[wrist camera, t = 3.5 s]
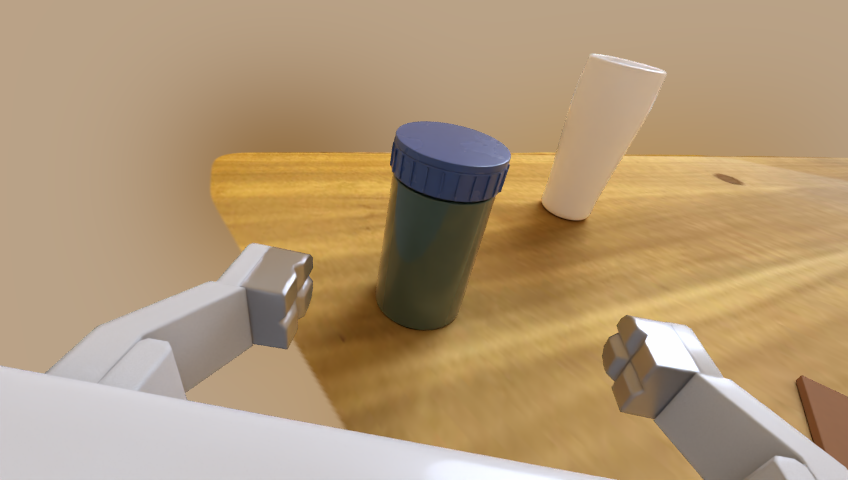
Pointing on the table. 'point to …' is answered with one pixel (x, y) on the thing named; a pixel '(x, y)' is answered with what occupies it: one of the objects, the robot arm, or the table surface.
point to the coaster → (826, 417)
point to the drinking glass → (598, 131)
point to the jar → (427, 256)
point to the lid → (449, 161)
